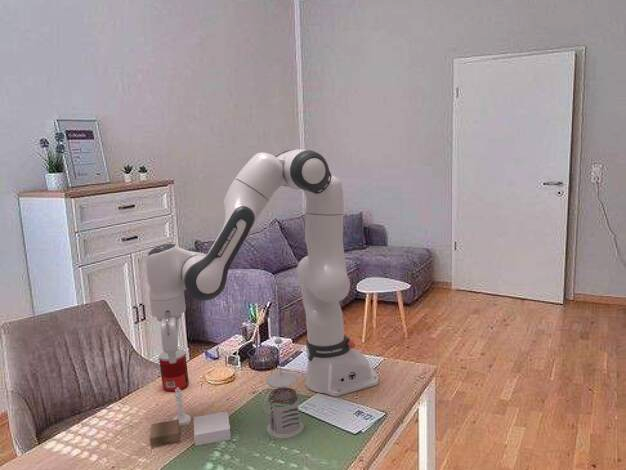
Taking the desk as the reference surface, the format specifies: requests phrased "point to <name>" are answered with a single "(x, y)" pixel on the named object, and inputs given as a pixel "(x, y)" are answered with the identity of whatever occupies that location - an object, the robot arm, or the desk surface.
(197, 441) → the light block
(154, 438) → the walnut block
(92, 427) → the desk surface
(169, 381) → the canned food
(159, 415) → the desk surface
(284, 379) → the french press
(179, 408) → the chess piece
